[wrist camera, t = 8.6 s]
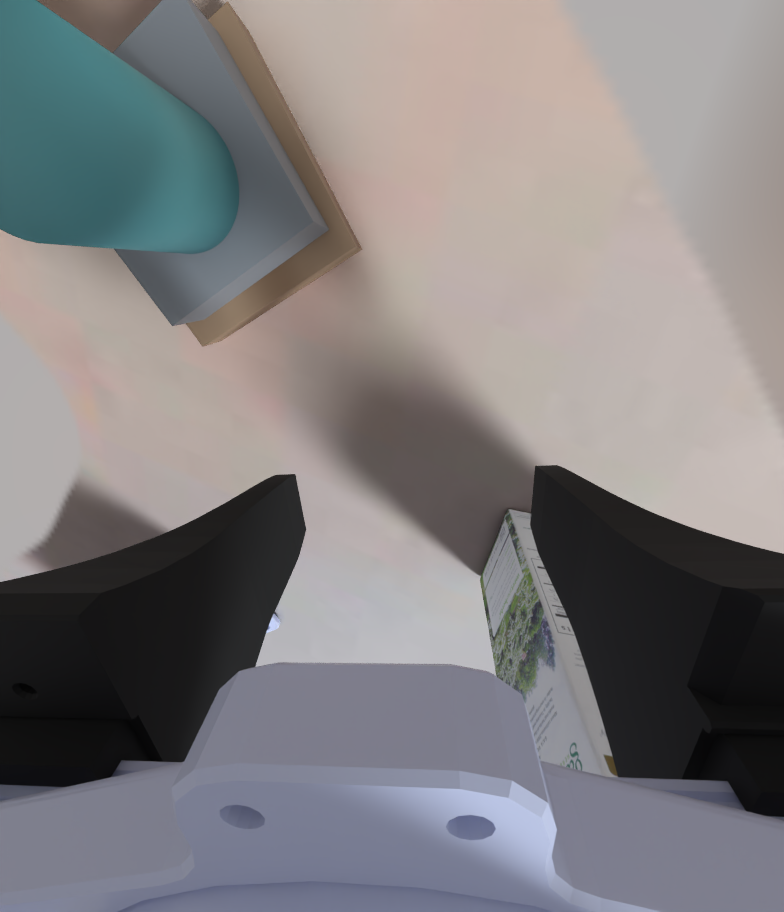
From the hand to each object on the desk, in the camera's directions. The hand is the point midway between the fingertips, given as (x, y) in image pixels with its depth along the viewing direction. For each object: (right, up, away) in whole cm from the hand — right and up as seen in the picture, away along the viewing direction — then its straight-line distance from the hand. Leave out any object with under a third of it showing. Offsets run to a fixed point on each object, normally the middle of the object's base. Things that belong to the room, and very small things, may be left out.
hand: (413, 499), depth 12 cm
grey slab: (-8, +12, +4) cm, 15 cm away
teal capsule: (-8, +11, +2) cm, 14 cm away
